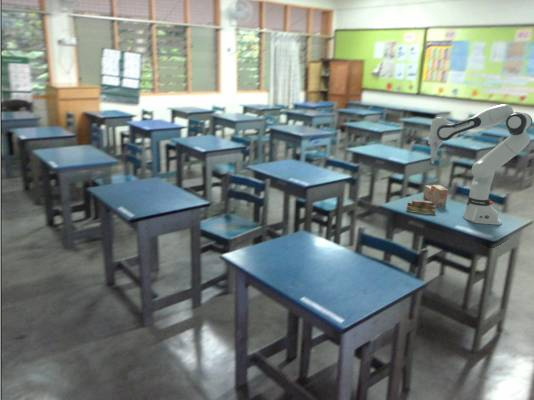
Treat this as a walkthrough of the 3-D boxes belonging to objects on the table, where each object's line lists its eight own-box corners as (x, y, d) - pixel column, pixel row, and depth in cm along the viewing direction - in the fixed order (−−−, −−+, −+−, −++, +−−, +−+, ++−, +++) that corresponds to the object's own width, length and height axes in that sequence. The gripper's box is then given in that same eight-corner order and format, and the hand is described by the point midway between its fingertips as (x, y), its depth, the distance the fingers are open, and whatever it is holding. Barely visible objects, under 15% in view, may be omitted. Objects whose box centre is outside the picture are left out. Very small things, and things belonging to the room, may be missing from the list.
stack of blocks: (423, 197, 325) (425, 181, 321) (431, 197, 326) (433, 181, 322) (437, 206, 305) (439, 189, 301) (445, 206, 306) (448, 189, 302)
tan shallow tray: (434, 210, 297) (435, 205, 296) (435, 214, 288) (435, 210, 287) (407, 206, 302) (407, 202, 301) (406, 210, 293) (407, 206, 292)
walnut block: (411, 209, 294) (412, 201, 292) (411, 207, 298) (412, 199, 296) (430, 211, 291) (431, 203, 290) (430, 209, 295) (431, 201, 293)
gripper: (440, 144, 281) (437, 165, 285) (440, 139, 300) (437, 159, 304) (430, 143, 283) (427, 164, 287) (430, 138, 301) (427, 158, 306)
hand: (432, 162), depth 296 cm, fingers open, 8 cm apart
